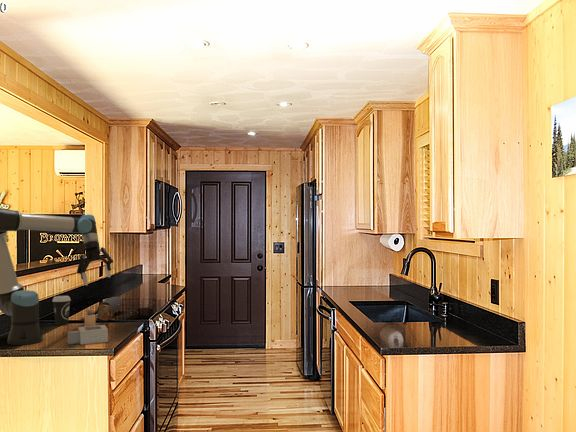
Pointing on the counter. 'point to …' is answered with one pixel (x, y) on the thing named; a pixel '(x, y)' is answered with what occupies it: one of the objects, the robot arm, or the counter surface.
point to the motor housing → (88, 335)
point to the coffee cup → (61, 309)
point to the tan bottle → (89, 318)
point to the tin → (105, 312)
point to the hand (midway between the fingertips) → (97, 281)
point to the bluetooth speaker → (113, 303)
